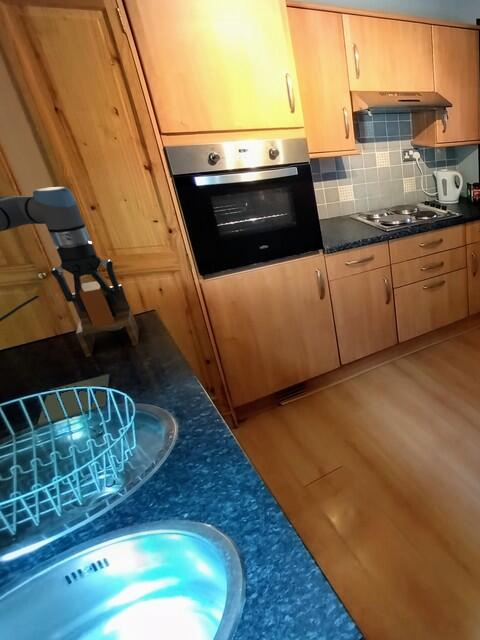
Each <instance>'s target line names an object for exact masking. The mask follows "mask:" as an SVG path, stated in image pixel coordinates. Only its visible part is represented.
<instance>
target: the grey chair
mask: <svg viewBox="0 0 480 640" xmlns="http://www.w3.org/2000/svg"><path fill="white" fill-rule="evenodd" d="M109 286H110V285H109ZM119 286H120V292H119V293H116V294H114V295H115V298H116V301H117V305H114V308H115V310H116V313H117V315H116V317H114V321H113V323H109V324H104V325H99V326H95V327H93V324H92V322H90V320H89V318H88V316H87V313H86V311H84V312H81V311H80V309H79V306H78V304H77V303H76V302H72V304H73V306H74V309H75V311H76V314H77V316H78V318H79V320H78V325H77V328H76V331H75V335H76V337H77V340H78V342H79V343H80V346H81V349H82V351H83V353H84V355H85V357H86V358H89V357H92V355H93V351H94V346H95V342H96V338H95V335H94V334H97V333H101V332H107V330H110V329H115V328H119V327H122V328H124V327H125V329H126V331H127V335H128V336H129V340H130V342H131V344H132V346H133V347H135V346H138V345H139V326H138V323H137V322H136V319H135V317H134V314H133V311H132V309H131V305H130V303H129V301H128V298H127V295H126V292H125V289H124V287H123V285H122V284H121V283H120V284H119ZM110 288H111V289H113V286H112V285H111V286H110ZM71 293H72V295H73V296H75V292H71Z"/></svg>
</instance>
